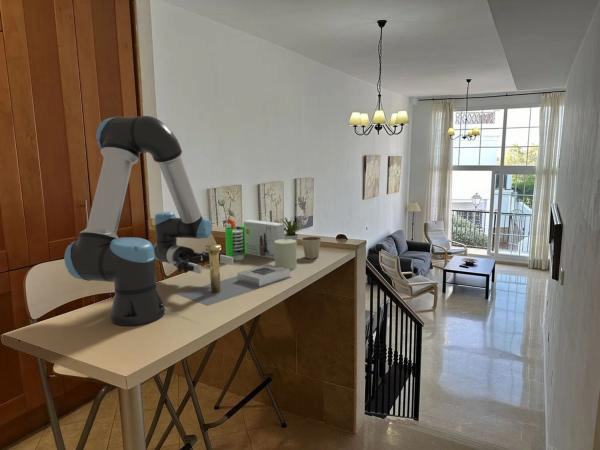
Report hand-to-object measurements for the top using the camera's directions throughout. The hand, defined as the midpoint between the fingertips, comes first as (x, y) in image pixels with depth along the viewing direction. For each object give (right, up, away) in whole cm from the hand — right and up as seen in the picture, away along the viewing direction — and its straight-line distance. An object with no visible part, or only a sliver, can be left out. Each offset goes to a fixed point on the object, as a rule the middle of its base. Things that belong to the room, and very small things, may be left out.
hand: (217, 265), depth 149 cm
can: (+22, -4, +31) cm, 39 cm away
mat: (+6, -8, +9) cm, 13 cm away
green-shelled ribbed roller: (-1, -2, +50) cm, 50 cm away
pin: (-1, -9, +2) cm, 9 cm away
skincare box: (+12, -1, +54) cm, 55 cm away
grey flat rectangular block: (+15, -6, +16) cm, 23 cm away
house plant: (+23, +3, +71) cm, 75 cm away
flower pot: (+34, -1, +49) cm, 60 cm away
